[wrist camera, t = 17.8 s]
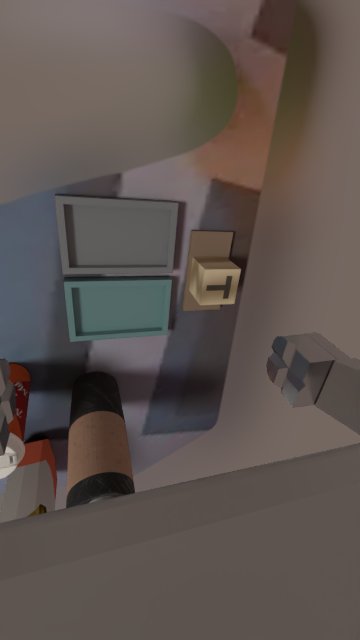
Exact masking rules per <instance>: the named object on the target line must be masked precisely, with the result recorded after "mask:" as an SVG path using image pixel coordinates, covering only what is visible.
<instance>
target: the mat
mask: <svg viewBox="0 0 360 640" xmlns="http://www.w3.org/2000/svg"><path fill="white" fill-rule="evenodd" d="M232 237H233V232H232V231H208V230H191V234H190V243H189V253H188V262H187V271H186V280H185V289H184V298H183V308H182V309H183V311H193V310H213V309H220V304H218V305H199V303H198V302H197V300H196V299H195V298H194V296H193V295H192V294H191V292H190V291H189V284H190V276H191V267H192V259H193V257H226V258H227V259H229V254H230V248H231V243H232Z"/></svg>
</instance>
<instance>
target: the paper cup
mask: <svg viewBox="0 0 360 640" xmlns="http://www.w3.org/2000/svg"><path fill="white" fill-rule="evenodd" d="M9 366H10V370H11V372H10V375H9V379H8V380H9V381H10V382H12V383H13V384H14V387H15V392H16V411H15V415H14V419H13V420H12V421H11V422H10V423H9V424H8V427H9V431H10V435H9V439H8V443H7V447H6V451H5V454H4V455H3V456H0V479H2V478H4V477H6V476H7V475H9V474H10V473H12V472H13V471H14V470H15V468H16V467H17V465H18V464H19V462H20V461H21V460H22V458H23V457H24V454H25V446H24V444H23V440H24V432H25V424H26V416H27V408H28V400H29V391H30V374H29V372H28V370H27V369H26V368H24V367H23V366H21V365H18V364H15V363H9Z"/></svg>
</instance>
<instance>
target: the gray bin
mask: <svg viewBox="0 0 360 640" xmlns="http://www.w3.org/2000/svg"><path fill="white" fill-rule="evenodd" d="M55 205H56V214H57V223H58V233H59V242H60V251H61V261H62V270H63V274H129V273H173V262H174V250H175V238H176V226H177V215H178V202H176V201H165V200H148V199H132V198H115V197H98V196H82V195H65V194H55Z"/></svg>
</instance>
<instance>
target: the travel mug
mask: <svg viewBox="0 0 360 640" xmlns="http://www.w3.org/2000/svg"><path fill="white" fill-rule="evenodd" d="M133 493H135V490H134V483H133V475H132V468H131V461H130V454H129V447H128V439H127V432H126V425H125V420H124V415H123V410H122V405H121V399H120V394H119V389H118V385H117V382H116V380H115V379H114V378H113V377H112V376H111V375H109V374H107V373H104V372H91V373H88V374H85V375H83V376H82V377H80V378H79V379H78V380H77V381H76V382H75V384H74V386H73V391H72V402H71V413H70V425H69V443H68V473H67V502H66V503H67V504H66V508H70V507H74V506H79V505H83V504H88V503H92V502H97V501H101V500H106V499H110V498H115V497H119V496H124V495H128V494H133Z"/></svg>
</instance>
